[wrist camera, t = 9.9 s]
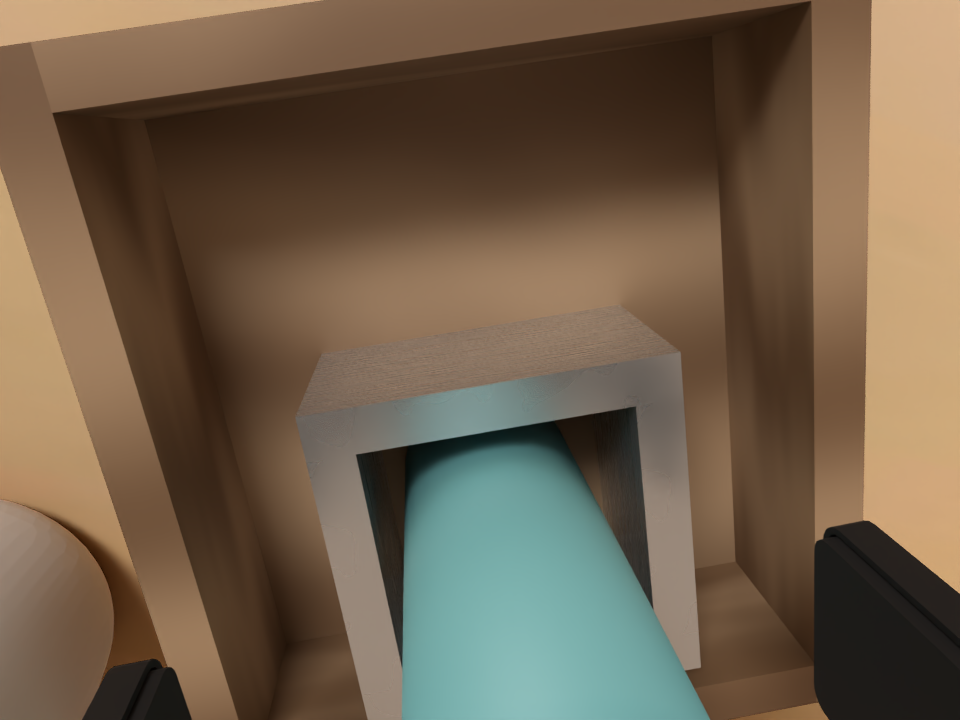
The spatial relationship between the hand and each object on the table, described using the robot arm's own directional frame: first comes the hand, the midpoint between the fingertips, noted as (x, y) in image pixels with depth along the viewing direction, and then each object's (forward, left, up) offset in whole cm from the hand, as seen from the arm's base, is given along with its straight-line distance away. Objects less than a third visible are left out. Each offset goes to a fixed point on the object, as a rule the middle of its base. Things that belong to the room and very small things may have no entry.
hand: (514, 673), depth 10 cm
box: (-2, 0, -9) cm, 9 cm away
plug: (0, 0, -8) cm, 8 cm away
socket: (0, 0, -9) cm, 9 cm away
